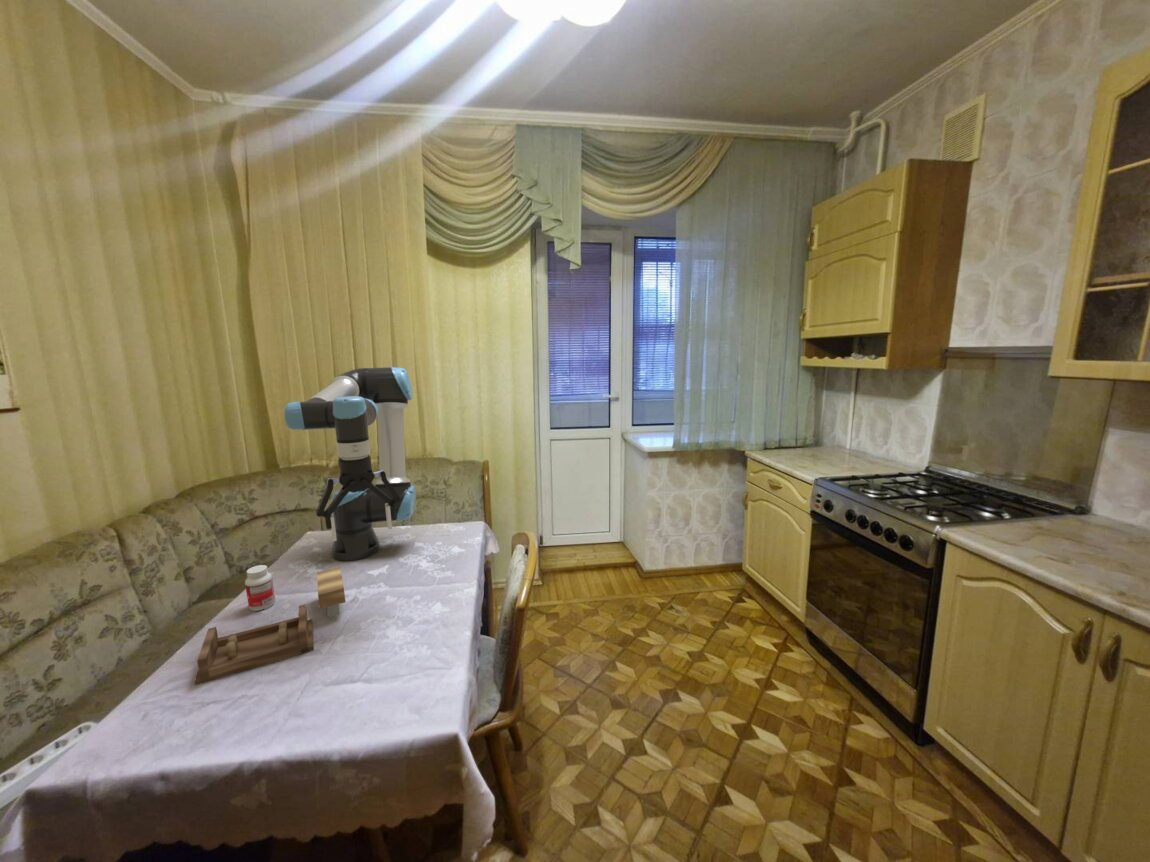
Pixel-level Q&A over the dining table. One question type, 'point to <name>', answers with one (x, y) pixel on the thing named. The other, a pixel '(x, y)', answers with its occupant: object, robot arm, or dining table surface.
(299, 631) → the peg frame
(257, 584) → the pill bottle
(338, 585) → the plank
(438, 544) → the dining table surface
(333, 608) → the stand
